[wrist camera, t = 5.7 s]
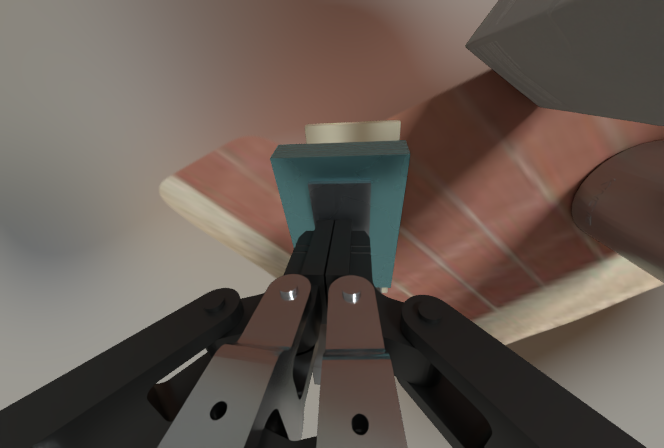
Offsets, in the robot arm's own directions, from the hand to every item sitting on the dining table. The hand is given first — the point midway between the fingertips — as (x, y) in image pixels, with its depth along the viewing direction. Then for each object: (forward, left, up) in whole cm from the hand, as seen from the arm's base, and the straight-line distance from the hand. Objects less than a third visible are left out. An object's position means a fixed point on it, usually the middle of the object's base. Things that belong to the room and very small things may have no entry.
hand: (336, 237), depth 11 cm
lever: (0, +7, -7) cm, 10 cm away
